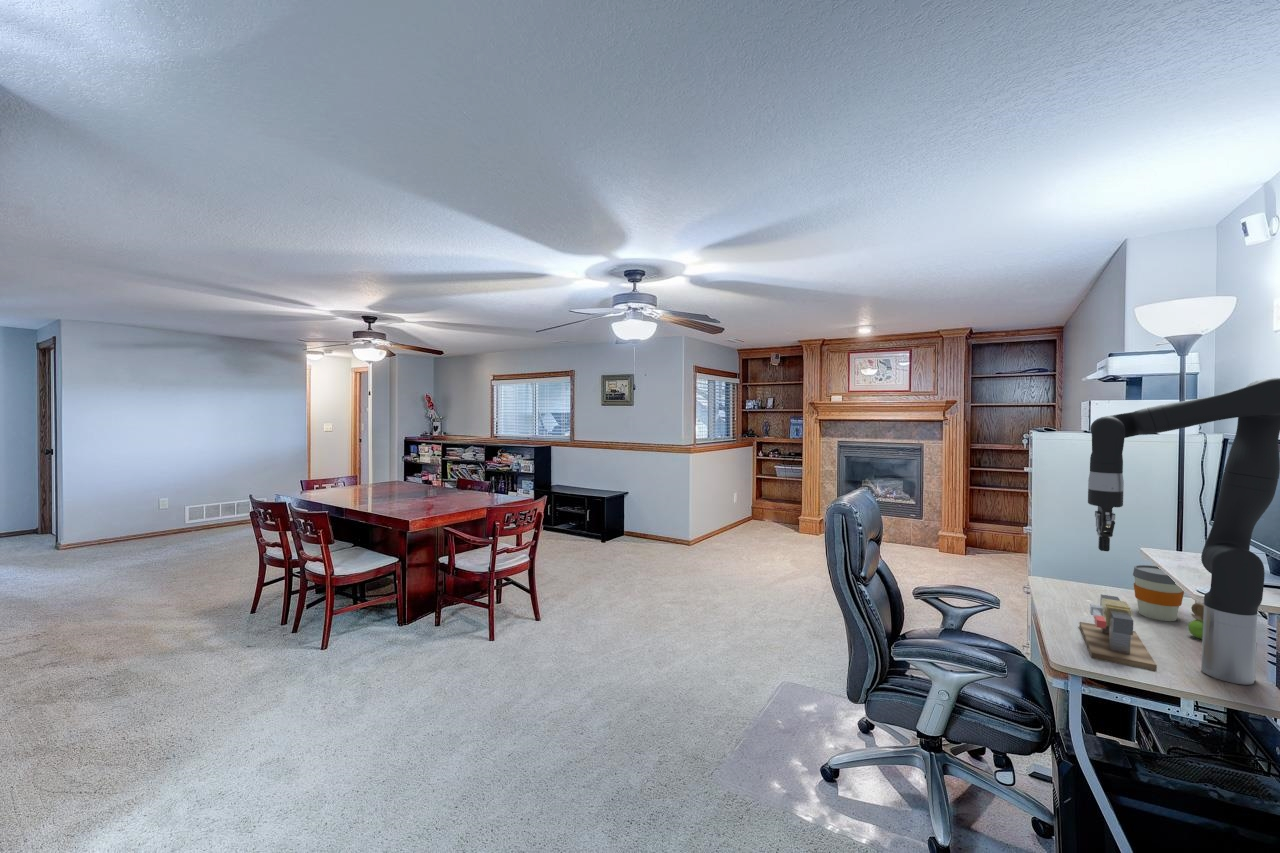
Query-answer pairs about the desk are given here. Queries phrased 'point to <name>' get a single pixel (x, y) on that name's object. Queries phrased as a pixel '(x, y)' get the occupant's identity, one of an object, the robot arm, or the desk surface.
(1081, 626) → the base board
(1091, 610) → the valve lever
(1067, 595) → the desk surface
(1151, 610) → the reusable coffee cup
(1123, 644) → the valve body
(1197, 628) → the snail figurine
